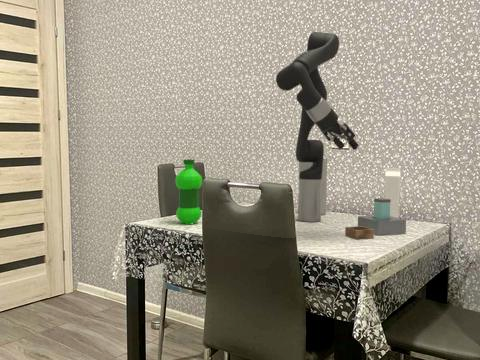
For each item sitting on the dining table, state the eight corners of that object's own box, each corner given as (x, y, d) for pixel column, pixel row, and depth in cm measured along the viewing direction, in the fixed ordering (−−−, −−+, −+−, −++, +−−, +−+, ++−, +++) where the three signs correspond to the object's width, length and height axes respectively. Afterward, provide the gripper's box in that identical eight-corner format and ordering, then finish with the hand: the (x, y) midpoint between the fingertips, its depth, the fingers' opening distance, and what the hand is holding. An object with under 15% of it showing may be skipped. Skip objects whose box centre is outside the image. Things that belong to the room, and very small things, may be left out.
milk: (384, 218, 203) (385, 167, 202) (398, 219, 202) (400, 167, 200) (383, 220, 198) (385, 168, 196) (398, 221, 196) (400, 168, 194)
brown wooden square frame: (356, 239, 158) (356, 230, 158) (345, 235, 165) (345, 227, 164) (373, 238, 161) (373, 229, 161) (361, 234, 167) (361, 226, 167)
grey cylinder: (297, 211, 223) (298, 158, 221) (324, 211, 222) (326, 158, 220) (298, 215, 211) (299, 158, 209) (326, 215, 210) (328, 159, 208)
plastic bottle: (179, 225, 180) (179, 160, 178) (173, 221, 190) (173, 159, 188) (204, 224, 184) (204, 160, 182) (197, 220, 194) (198, 159, 192)
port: (378, 235, 165) (378, 221, 165) (357, 229, 177) (358, 216, 176) (405, 233, 170) (406, 219, 169) (384, 227, 181) (384, 214, 181)
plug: (380, 230, 170) (381, 199, 170) (373, 228, 174) (374, 198, 173) (389, 229, 172) (390, 199, 171) (382, 227, 176) (383, 198, 175)
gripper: (340, 104, 155) (368, 140, 160) (317, 107, 168) (344, 140, 173) (325, 120, 153) (354, 156, 158) (304, 121, 166) (331, 154, 171)
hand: (349, 147), depth 166 cm, fingers open, 8 cm apart
